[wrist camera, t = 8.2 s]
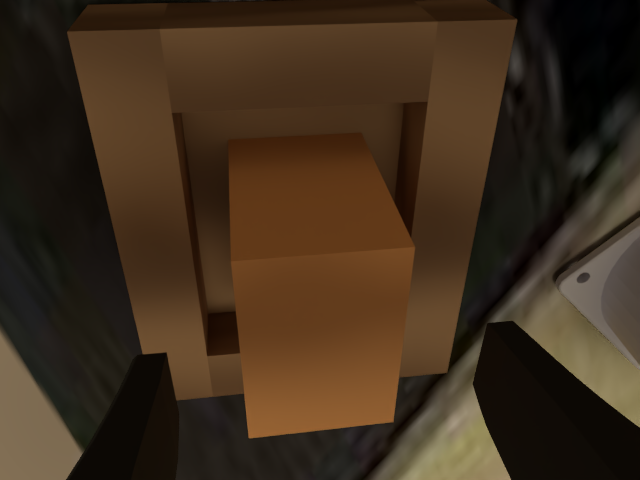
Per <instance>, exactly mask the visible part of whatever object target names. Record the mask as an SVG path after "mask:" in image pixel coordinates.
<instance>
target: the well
mask: <svg viewBox="0 0 640 480" xmlns="http://www.w3.org/2000/svg"><path fill="white" fill-rule="evenodd" d="M516 24H517V19H516V18H514V17H513V16H511V15H509V14H508V13H506V12H505V11H503V10H501V9H500V8H498V7H496V6H495V5H493V4H492V3H490V2H488V1H487V0H284V1H238V2H192V3H146V4H100V5H88V6H87V7H86V8H85V9H84V11H83V12H82V13H81V15H80V16H79V17H78V18H77V20H76V21H75V22H74V23H73V25H72V26H71V27H70V28H69V30H68V31H67V34H68V38H69V42H70V46H71V51H72V55H73V59H74V63H75V68H76V72H77V76H78V80H79V85H80V89H81V93H82V97H83V102H84V106H85V110H86V114H87V119H88V123H89V127H90V131H91V135H92V140H93V144H94V148H95V152H96V157H97V161H98V165H99V169H100V174H101V178H102V182H103V186H104V191H105V195H106V199H107V203H108V208H109V212H110V216H111V220H112V224H113V229H114V233H115V237H116V241H117V246H118V250H119V254H120V258H121V263H122V267H123V271H124V275H125V280H126V284H127V288H128V292H129V297H130V301H131V305H132V309H133V314H134V318H135V322H136V326H137V330H138V335H139V339H140V343H141V347H142V352H143V354H153V353H164V352H167V357H168V362H169V367H170V371H171V376H172V381H173V386H174V391H175V396H176V400H185V399H195V398H204V397H214V396H224V395H233V394H243V393H244V385H243V376H242V366H241V356H240V346H239V337H238V327H237V317H236V307H235V298H234V288H233V278H232V268H231V248H230V202H229V157H228V140H229V139H248V138H267V137H286V136H305V135H324V134H343V133H362V135H363V137H364V140H365V142H366V144H367V146H368V148H369V150H370V152H371V154H372V157H373V159H374V161H375V163H376V165H377V167H378V169H379V171H380V173H381V176H382V178H383V180H384V182H385V184H386V186H387V188H388V190H389V193H390V195H391V197H392V199H393V201H394V203H395V205H396V207H397V210H398V212H399V214H400V216H401V218H402V220H403V222H404V224H405V227H406V229H407V231H408V233H409V235H410V237H411V239H412V241H413V243H414V246H415V253H414V261H413V269H412V277H411V284H410V292H409V300H408V308H407V316H406V324H405V332H404V340H403V348H402V356H401V364H400V372H399V377H409V376H418V375H428V374H438V373H447V370H448V365H449V360H450V355H451V350H452V345H453V340H454V335H455V330H456V325H457V320H458V315H459V310H460V305H461V300H462V295H463V290H464V285H465V280H466V275H467V270H468V265H469V260H470V255H471V250H472V245H473V240H474V235H475V230H476V224H477V219H478V214H479V209H480V204H481V199H482V194H483V189H484V184H485V179H486V174H487V169H488V164H489V159H490V154H491V149H492V144H493V139H494V134H495V129H496V124H497V119H498V114H499V109H500V104H501V99H502V94H503V89H504V84H505V79H506V74H507V69H508V64H509V59H510V54H511V49H512V44H513V39H514V34H515V29H516Z"/></svg>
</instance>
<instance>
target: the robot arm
mask: <svg viewBox="0 0 640 480" xmlns="http://www.w3.org/2000/svg"><path fill="white" fill-rule="evenodd" d="M582 273H583V274H582ZM580 274H582V275H580ZM579 275H580V276H579ZM556 287H557V288H558V290H559V291H560V292H561V293H562V294H563V295H564V296H565V297H566V298H567V299H568V300H569V301H570V302H571V303H572V304H573V305H574V306H575V307H576V308H577V309H578V310H579V311H580V312H581V313H582V314H583V315H584V316H585V317H586V318H587V319H588V320H589V321H590V322H591V323H592V324H593V325H594V326H595V327H596V328H597V329H598V330H599V331H600V332H601V333H602V334H603V335H604V336H605V337H606V338H607V339H608V340H609V341H610V342H611V343H612V344H613V345H614V346H615V347H616V348H617V349H618V350H619V351H620V352H621V353H622V354H623V355H624V356H625V357H626V358H627V359H628V360H629V361H630V362H631V363H632V364H633V365H634V366H635V367H636V368H637V369H639V370H640V217H639V218H638V219H636V220H635V221H633V222H632V223H631V224H629V225H628V226H627V227H625V228H624V229H622V230H621V231H620V232H618V233H617V234H616V235H614V236H613V237H611V238H610V239H609V240H607V241H606V242H605V243H603V244H602V245H600V246H599V247H598V248H596V249H595V250H594V251H592V252H591V253H589V254H588V255H587V256H585V257H584V258H582V259H581V260H580V261H578V262H577V263H576V264H574V265H573V266H571V267H570V268H569V269H567V270H566V271H565V272H563V273H562V274H561V275H560V276H559V277H558V278H557V280H556ZM473 386H474V389H475V393H476V396H477V399H478V402H479V406H480V409H481V412H482V415H483V418H484V420H485V423H486V426H487V428H488V431H489V433H490V435H491V437H492V439H493V442H494V444H495V446H496V448H497V450H498V452H499V454H500V457H501V459H502V461H503V463H504V465H505V467H506V469H507V471H508V474H509V476H510V478H511V480H640V428H639V427H638V426H637V425H635V424H634V423H633V422H631V421H630V420H629V419H627V418H626V417H625V416H623V415H622V414H621V413H620V412H618V411H617V410H616V409H614V408H613V407H612V406H610V405H609V404H608V403H607V402H605V401H604V400H603V399H602V398H600V397H599V396H598V395H597V394H596V393H594V392H593V391H592V390H591V389H589V388H588V387H587V386H586V385H585V384H583V383H582V382H581V381H580V380H579V379H578V378H576V377H575V376H574V375H573V374H572V373H571V372H569V371H568V370H567V369H566V368H565V367H564V366H563V365H561V364H560V363H559V362H558V361H557V360H556V359H555V358H554V357H553V356H551V355H550V354H549V353H548V352H547V351H546V350H545V349H544V348H542V347H541V346H540V345H539V344H538V343H537V342H536V341H535V340H534V339H533V338H531V337H530V336H529V335H528V334H527V333H526V332H525V331H524V330H522V329H521V328H520V327H519V326H518V325H517V324H516V323H515V322H513V321H506V322H495V323H487V327H486V331H485V335H484V339H483V343H482V347H481V352H480V356H479V360H478V364H477V368H476V372H475V377H474V381H473ZM178 441H179V411H178V406H177V401H176V396H175V391H174V386H173V381H172V376H171V371H170V367H169V362H168V357H167V352H164V353H153V354H142V355H137V356H136V357H135V358H134V359H133V361H132V363H131V365H130V368H129V370H128V372H127V374H126V376H125V378H124V380H123V383H122V385H121V387H120V389H119V391H118V393H117V395H116V396H115V398H114V400H113V402H112V404H111V406H110V408H109V410H108V412H107V413H106V415H105V417H104V419H103V420H102V422H101V424H100V426H99V427H98V429H97V431H96V433H95V434H94V436H93V438H92V440H91V441H90V443H89V445H88V446H87V448H86V450H85V451H84V453H83V454H82V456H81V457H80V459H79V461H78V462H77V464H76V465H75V467H74V468H73V470H72V471H71V473H70V475H69V476H68V478H67V479H66V480H175V478H176V470H177V462H178Z"/></svg>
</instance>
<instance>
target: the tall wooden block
mask: <svg viewBox="0 0 640 480" xmlns="http://www.w3.org/2000/svg"><path fill="white" fill-rule="evenodd" d="M228 157H229V202H230V248H231V268H232V278H233V288H234V298H235V307H236V317H237V327H238V337H239V346H240V356H241V366H242V376H243V385H244V395H245V405H246V415H247V424H248V434H249V438H256V437H265V436H274V435H283V434H291V433H300V432H309V431H318V430H327V429H335V428H344V427H353V426H362V425H370V424H379V423H388V422H393V419H394V411H395V403H396V396H397V388H398V380H399V372H400V364H401V356H402V348H403V340H404V332H405V324H406V316H407V308H408V300H409V292H410V284H411V277H412V269H413V261H414V253H415V246H414V243H413V241H412V239H411V237H410V235H409V233H408V231H407V229H406V227H405V224H404V222H403V220H402V218H401V216H400V214H399V212H398V210H397V207H396V205H395V203H394V201H393V199H392V197H391V195H390V193H389V190H388V188H387V186H386V184H385V182H384V180H383V178H382V176H381V173H380V171H379V169H378V167H377V165H376V163H375V161H374V159H373V157H372V154H371V152H370V150H369V148H368V146H367V144H366V142H365V140H364V137H363V135H362V133H343V134H324V135H305V136H286V137H267V138H248V139H229V140H228Z"/></svg>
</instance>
